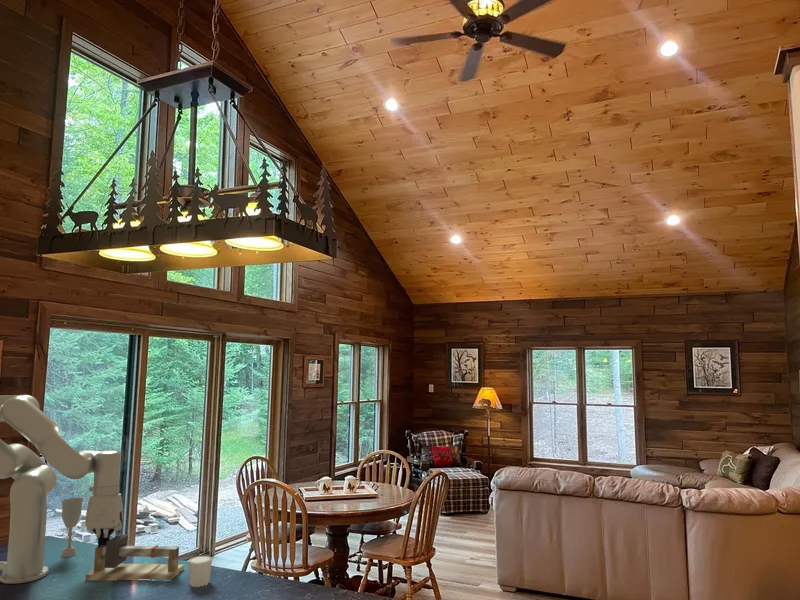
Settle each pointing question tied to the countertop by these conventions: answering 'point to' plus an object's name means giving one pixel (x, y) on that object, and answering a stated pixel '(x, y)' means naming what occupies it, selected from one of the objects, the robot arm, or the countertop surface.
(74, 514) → the chalice
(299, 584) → the countertop surface
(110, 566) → the collar
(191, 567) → the cream short cylinder
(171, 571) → the pipe rig
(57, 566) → the countertop surface
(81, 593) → the countertop surface
